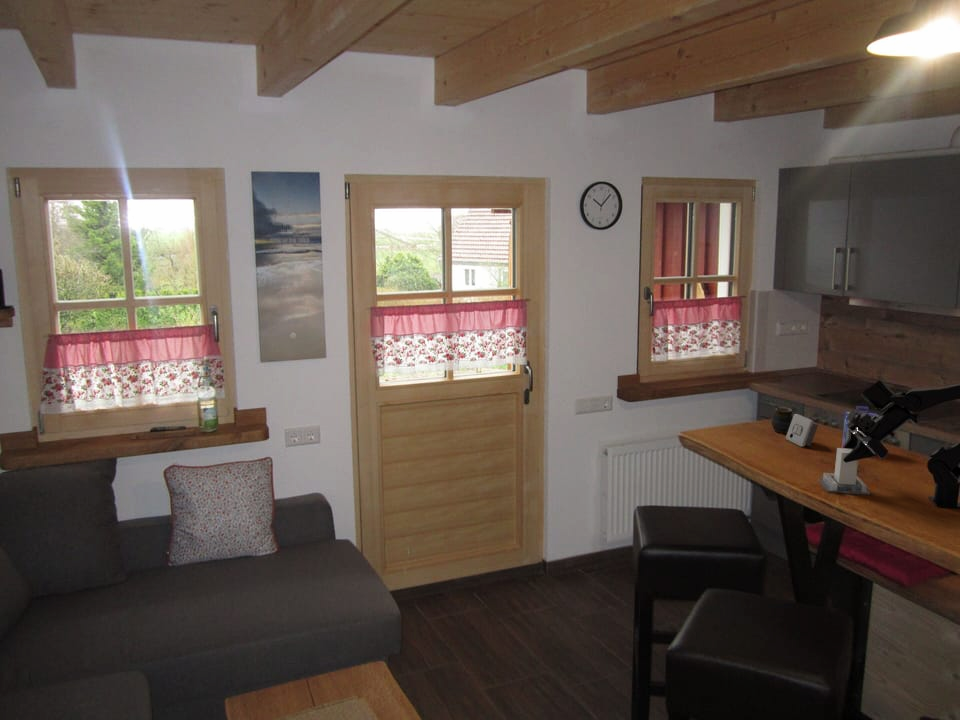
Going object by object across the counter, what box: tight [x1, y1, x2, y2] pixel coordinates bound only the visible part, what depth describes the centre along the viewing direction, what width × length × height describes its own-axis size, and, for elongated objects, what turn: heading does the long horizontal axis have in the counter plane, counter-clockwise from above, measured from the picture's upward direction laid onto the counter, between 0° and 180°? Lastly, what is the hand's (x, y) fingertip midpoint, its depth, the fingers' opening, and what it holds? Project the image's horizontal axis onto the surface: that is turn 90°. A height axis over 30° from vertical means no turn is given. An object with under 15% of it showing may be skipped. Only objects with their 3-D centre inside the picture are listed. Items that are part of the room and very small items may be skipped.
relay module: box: [834, 447, 860, 485], centre depth 220 cm, size 4×5×9 cm
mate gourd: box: [771, 404, 793, 434], centre depth 275 cm, size 7×8×10 cm
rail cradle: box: [817, 472, 871, 496], centre depth 221 cm, size 10×11×2 cm
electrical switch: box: [785, 413, 819, 448], centre depth 262 cm, size 9×5×9 cm, turn 13°
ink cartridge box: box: [841, 405, 880, 455], centre depth 254 cm, size 10×6×14 cm, turn 78°
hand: (841, 458), depth 220 cm, fingers closed on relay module, 4 cm apart
